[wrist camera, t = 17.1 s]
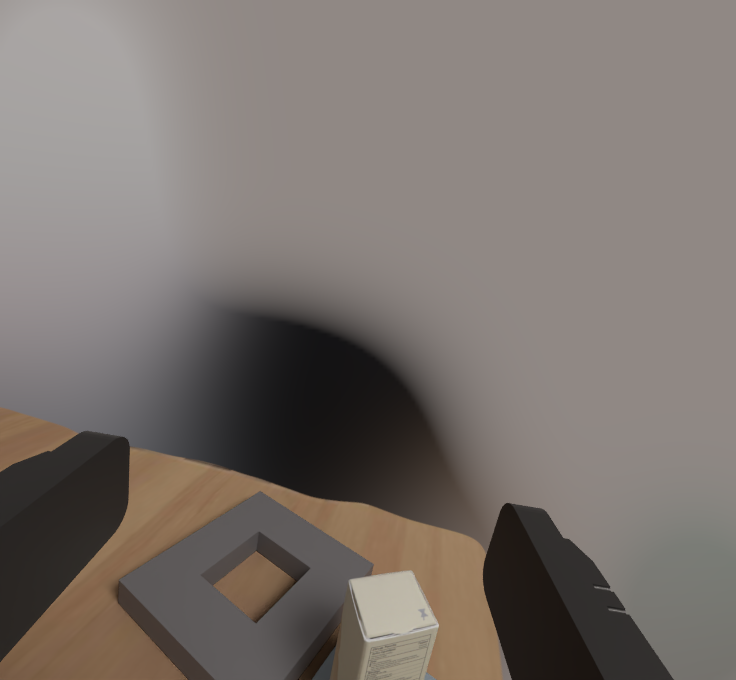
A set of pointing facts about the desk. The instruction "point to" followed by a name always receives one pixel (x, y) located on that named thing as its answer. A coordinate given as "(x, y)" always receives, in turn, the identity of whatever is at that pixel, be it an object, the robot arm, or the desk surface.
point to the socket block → (221, 617)
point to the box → (384, 630)
